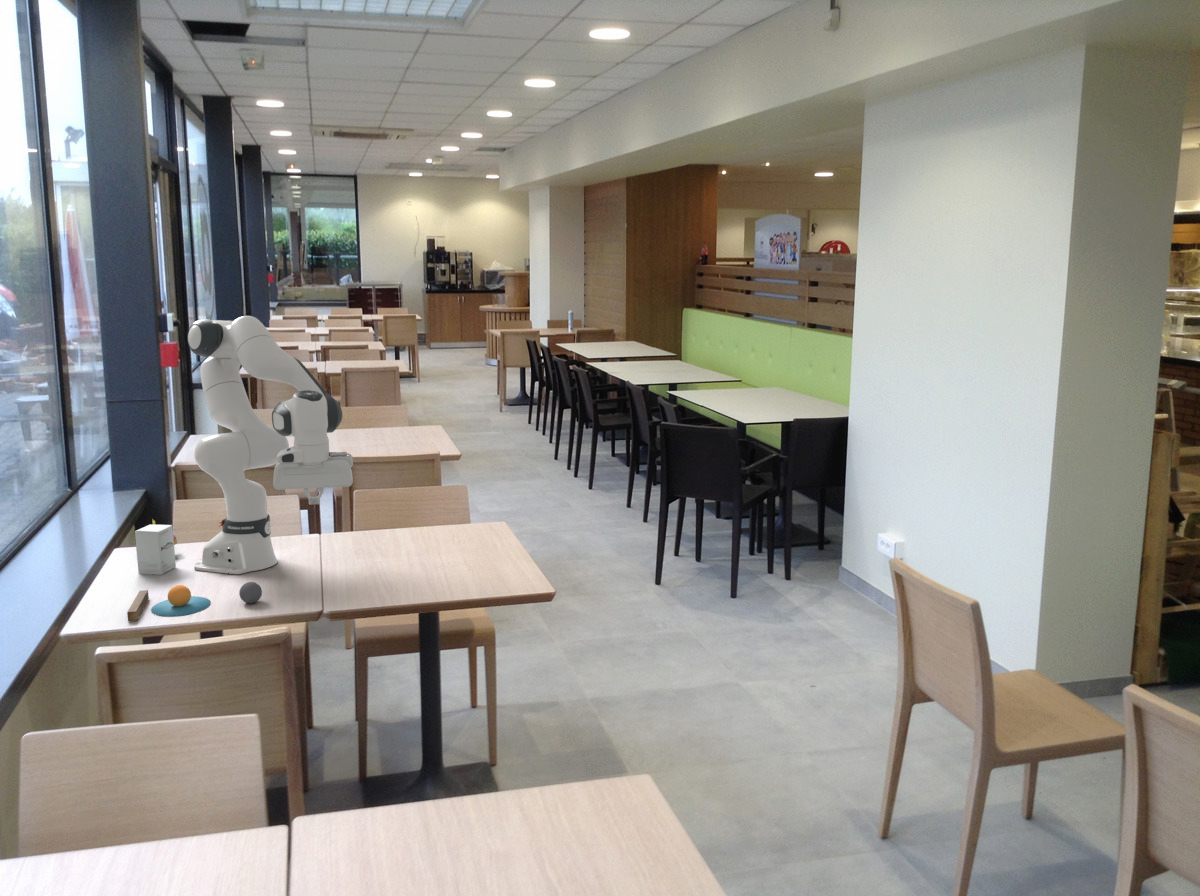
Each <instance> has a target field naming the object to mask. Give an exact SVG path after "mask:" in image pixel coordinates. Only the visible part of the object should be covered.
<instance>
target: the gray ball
mask: <svg viewBox="0 0 1200 896" xmlns="http://www.w3.org/2000/svg"><path fill="white" fill-rule="evenodd" d="M238 594H239V595H238V596H239V598H240V600H241V601H242V602H244V603H246V604H254V603H255V604H256V603H257V602H259V600H260V599H261V598H262V594H263V589H262V587H261V586H260V585H259V584H258V583H257V582H255V581H247V582H245V583H244V584H242V585H241V586H240V589H239V591H238Z"/></svg>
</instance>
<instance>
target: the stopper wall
mask: <svg viewBox="0 0 1200 896" xmlns="http://www.w3.org/2000/svg"><path fill="white" fill-rule="evenodd" d="M148 599H150V598H149V590H148V589H146V590H145V589H144V590H143V589H142V590H139V591H138V592H137V595H136V596H135V598H134V599H133V601H132V603H131V605H130V606H129V608H128V610H127V611H126V613H127V622H128V621H131V622H138V620H139V618H140V616H141V615H142V613H143V611H144V609H145V607H146V606H147V603H148V602H147V601H149V600H148ZM143 608H144V609H143ZM142 610H143V611H142ZM141 612H142V613H141ZM140 614H141V615H140ZM138 617H139V618H138Z"/></svg>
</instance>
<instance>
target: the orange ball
mask: <svg viewBox="0 0 1200 896" xmlns="http://www.w3.org/2000/svg"><path fill="white" fill-rule="evenodd" d="M191 596H192V592H191V590H190V588H189V587H187V586H186V585H184V584H177V585H173V586H172V587H171V588H170V589H169V590H168V592H167V600H169V602H170V603H171V604H172V605H174V606H177V607H180V606H184V605H186V604H187V603H188V602H189V601H190V599H191Z"/></svg>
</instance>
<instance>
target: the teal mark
mask: <svg viewBox="0 0 1200 896" xmlns="http://www.w3.org/2000/svg"><path fill="white" fill-rule="evenodd" d="M210 603H211V600H210V599H209V598H207V597H204V596H196V595H195V596H193V595H191V599H190V601H189V602H188V603H187V604H186V605H184V606H180V607H177V606H174V605H172V604H171V603H170V602H169V600H168V599H165V600H162V601H160V602H157V603H156V604H154V605H153V606H152V607H151V609H150V611H152V612H151V614H153V613H154V614H153V615H155V614H156V615H155V616H158V617H182V616H187V615H192V614H196V613H198V611H199V612H202V611H204V610H205V608H206V609H208V608H209V607H210V606H211V604H210ZM208 606H209V607H208ZM203 609H204V610H203ZM201 610H202V611H201Z"/></svg>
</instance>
